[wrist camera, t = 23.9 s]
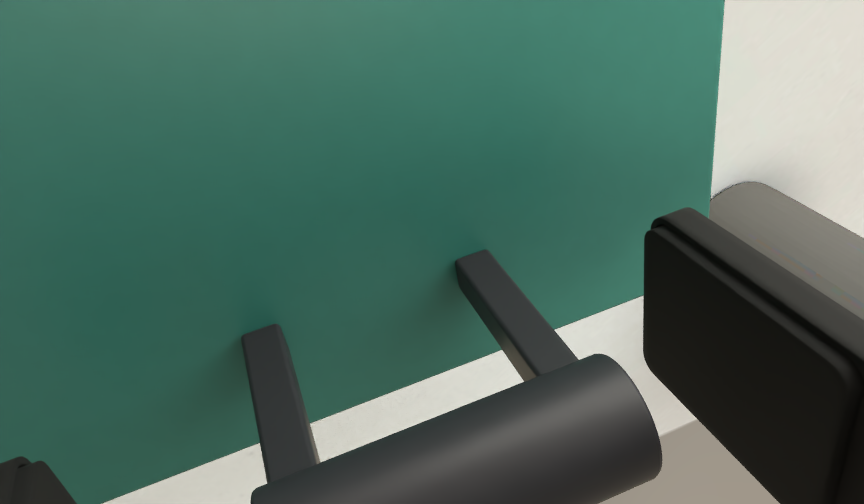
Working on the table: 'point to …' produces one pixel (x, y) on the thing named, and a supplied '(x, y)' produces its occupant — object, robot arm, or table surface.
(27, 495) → the robot arm
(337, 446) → the table surface
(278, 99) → the lunchbox lid
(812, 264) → the bottle
